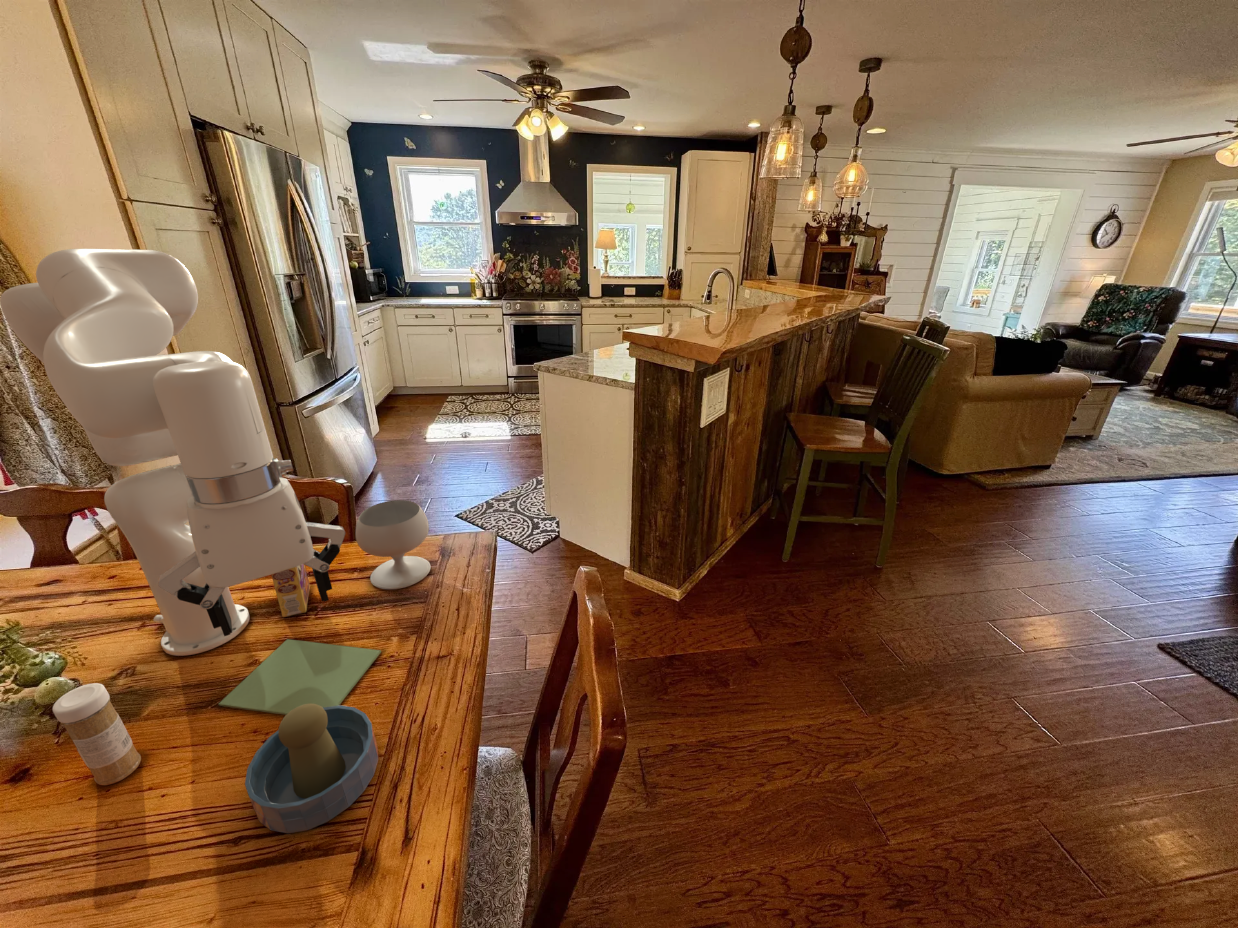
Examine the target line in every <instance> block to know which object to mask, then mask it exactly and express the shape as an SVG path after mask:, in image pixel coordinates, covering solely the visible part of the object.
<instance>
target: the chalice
mask: <svg viewBox="0 0 1238 928" xmlns="http://www.w3.org/2000/svg"><path fill="white" fill-rule="evenodd" d="M429 525H430V524H429V520H428V517H427V515H426V513H425V511H424V510H423V509H422V507H421V506H420V505H419V504H418V503H417V502H414V501H411V500H405V499H397V500H396V499H395V500H394V499H393V500H388V501H383V502H379V503H375V504H374V505H371V506H369V507H367V508H366V509H364V510H363V511H361V513H360V515H359V516H358V518H357V521H356V525H355V540H356V544H357V545H358V547H359V548H360V549H361V550H362V552H365V553H367V554H368V555H371V556H375V557H379V558H380V557H381V558H389V557H390V558H391V559H389V560H386V561H385V562H382V563H381V564H380V565H378V566H377V567H376V568H375V569H373V571H372V572H371V574H370V578H369V580H370V583H371V584H372V586H374V587H376V588H378V589H382V590H398V589H404V588H408V587H410V586H412V585H414V584H417V583H418V582H421V581H422V580H424V579H425V578H426V577H427V575H428V574H429V573H430V571H431V567H432V566H431V563H430V561H429V560H428V559H426V558H424V557H422V556H417V555H405V554H407V553H409V552H411V551H414V550H415V549H416V548H418V547H419V546H420V545H422V543H423V542H424V541H425V540H426V539H427V538H428V535H429V531H430V526H429Z"/></svg>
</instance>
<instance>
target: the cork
mask: <svg viewBox="0 0 1238 928" xmlns="http://www.w3.org/2000/svg"><path fill="white" fill-rule="evenodd" d="M327 724H328V718H327V713H326V711H325V710H324V709H323V708H322V706H319V705H317V704H304V705H301V706H299V707H296V708H295V709H293V710H291V711H290V712H289V713H288V714H287V715H284V717H283V718H282V719H281V721H280V724H279V726H278V730H279V739H280V741H281V742H282V744H283V745H284V746H286V747H288V750H289V758H290V766H291V774H292V782H293V790H294V792H295V794H296V795H297V796H298V797H300V798H305V799H307V798H309V797H312V796H314V795H317V794H319V793H321V792H323V791H324V790H326V789H327V788H329V787H330V786H332V785H333V784H335V783H336V782H338V781H339V780H340V779H341V778H342V776H343V774H344V772H345V768H346V766H345V761H344V759H343V757H342V755H341V754H340V752H339V750H338V748H337V746H336V745H335V743H334V741H333V739H332V738H331V736H330V734H329V732H328V731H327V729H326V727H327Z"/></svg>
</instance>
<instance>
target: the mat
mask: <svg viewBox="0 0 1238 928" xmlns="http://www.w3.org/2000/svg"><path fill="white" fill-rule="evenodd" d="M380 654H382V650H381V649H373V648H363V647H357V646H356V647H355V646H347V645H339V644H332V643H331V644H330V643H324V642H323V643H322V642H314V641H305V640H297V639H289V638H287V639H286V640H285V641H283V643H281V644H280V645H279V646H278V647H277V648H276V649H275V650H274V651H273V652H272V653H271V654H269V656H267V657H266V658H265V660H263V661H262V662H261V663H260V664H259V665H258V666H257V667H256V668H255V669H254V670H253V671H252V672H250V673H249V674H248V676H246V677H245V678H244V679H243V680H242V681H241V682H240V683H239V684H238V685H237V686H236V687H234V688H233V690H231V691H230V692H229V693H228V694H227V695H226V696H225V697H224V698H223V699H221V701H220V702H219V703H218V706H220V707H226V708H232V709H241V710H246V711H254V712H260V713H267V714H275V715H283V716H286V715H287V714H288V713H289V712H290V711H291V710H293V709H295V708H296V707H299V706H301V705H304V704H317V705H319V706H322V708H323V707H331V706H339V705H340V706H341V704H342V702H343V701H344V700H345V699H346V698H347V696H348V695H349V693H351V691H352V690H353V689H354V688H355V686H356V685H357V683H358V682H359V681H360V680H361V679H362V677H363V676H364V675H365V673H366V672H367V671H368V670H369V668H370V667H371V666H372V665H373V663H374V662H375V661H376V659H377V658H378V657H380Z"/></svg>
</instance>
